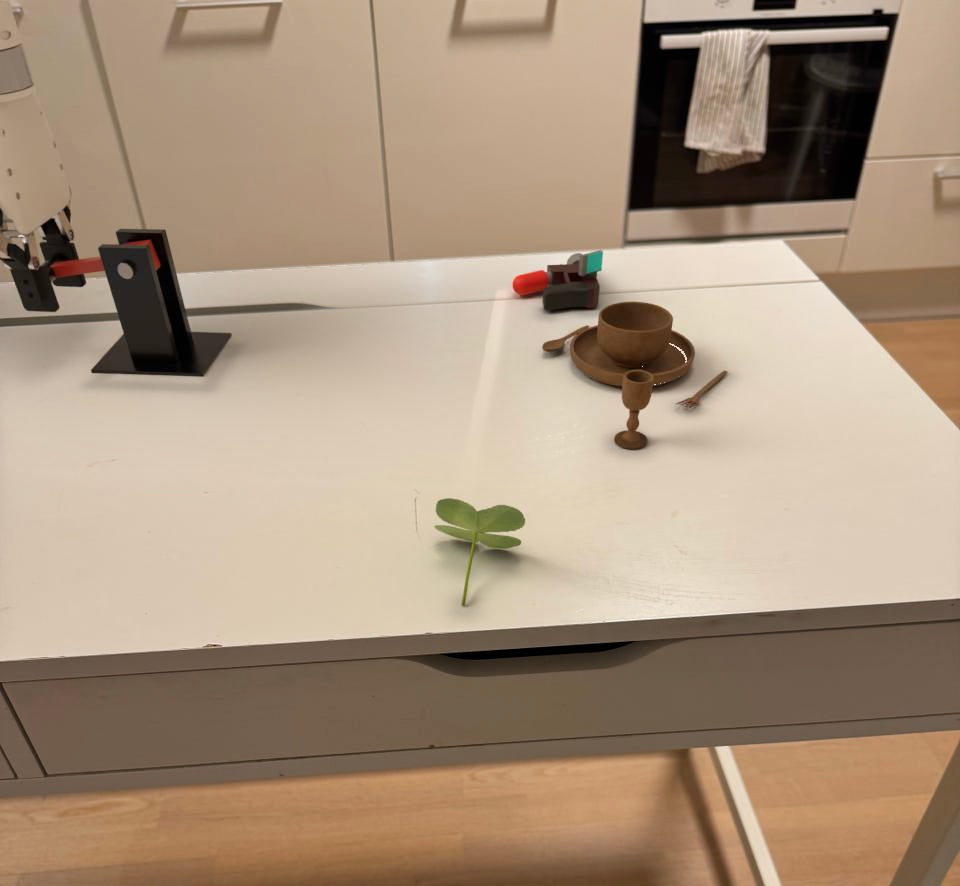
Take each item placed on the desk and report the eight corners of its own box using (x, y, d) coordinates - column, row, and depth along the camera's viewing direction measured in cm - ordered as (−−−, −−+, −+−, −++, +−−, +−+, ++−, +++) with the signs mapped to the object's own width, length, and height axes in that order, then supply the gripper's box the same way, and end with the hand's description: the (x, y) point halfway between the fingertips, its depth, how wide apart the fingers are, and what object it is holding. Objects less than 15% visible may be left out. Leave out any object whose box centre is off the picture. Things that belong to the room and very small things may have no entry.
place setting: (741, 365, 84) (754, 305, 80) (643, 455, 72) (652, 390, 68) (586, 322, 92) (590, 265, 88) (474, 397, 80) (473, 335, 76)
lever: (35, 295, 80) (22, 268, 78) (59, 274, 84) (47, 249, 82) (147, 280, 78) (136, 253, 76) (166, 260, 82) (156, 233, 80)
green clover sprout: (466, 628, 64) (481, 546, 66) (537, 616, 58) (552, 526, 60) (386, 597, 60) (404, 511, 62) (453, 581, 54) (472, 486, 56)
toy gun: (589, 270, 102) (592, 227, 99) (605, 312, 94) (609, 266, 90) (507, 273, 102) (508, 230, 99) (516, 315, 93) (517, 269, 90)
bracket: (94, 381, 83) (51, 255, 75) (130, 341, 90) (94, 220, 82) (205, 385, 82) (173, 257, 74) (233, 344, 89) (207, 222, 81)
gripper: (-11, 52, 76) (58, 263, 89) (-127, 97, 64) (-27, 335, 77) (71, 53, 76) (129, 265, 88) (-30, 99, 64) (54, 338, 76)
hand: (56, 295), depth 82 cm, fingers closed on lever, 5 cm apart
